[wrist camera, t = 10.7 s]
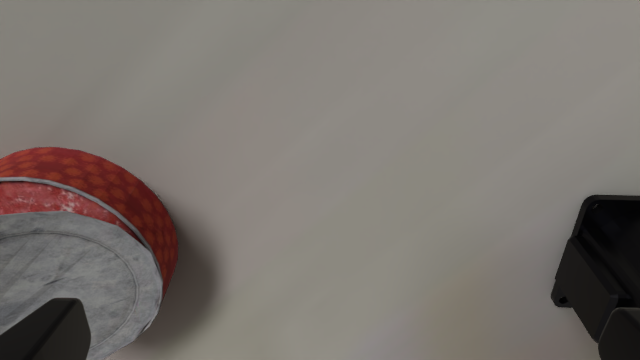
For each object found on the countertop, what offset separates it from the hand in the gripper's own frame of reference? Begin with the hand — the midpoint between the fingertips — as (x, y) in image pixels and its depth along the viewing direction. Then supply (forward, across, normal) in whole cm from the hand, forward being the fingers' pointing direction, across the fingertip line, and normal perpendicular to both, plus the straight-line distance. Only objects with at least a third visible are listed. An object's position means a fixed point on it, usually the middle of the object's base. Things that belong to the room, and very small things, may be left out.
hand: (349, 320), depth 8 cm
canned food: (+14, +12, +8) cm, 20 cm away
